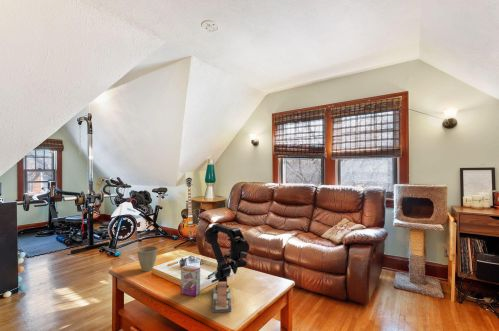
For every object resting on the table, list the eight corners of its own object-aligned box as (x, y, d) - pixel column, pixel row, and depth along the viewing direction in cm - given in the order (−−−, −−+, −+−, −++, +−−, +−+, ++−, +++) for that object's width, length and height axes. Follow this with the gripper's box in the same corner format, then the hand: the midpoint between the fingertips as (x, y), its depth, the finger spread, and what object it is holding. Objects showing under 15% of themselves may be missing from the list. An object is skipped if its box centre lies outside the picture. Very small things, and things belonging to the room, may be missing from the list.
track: (214, 294, 158) (214, 288, 158) (230, 293, 159) (230, 287, 159) (212, 312, 139) (212, 305, 139) (231, 311, 139) (231, 304, 140)
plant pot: (137, 275, 187) (137, 253, 187) (136, 267, 201) (137, 247, 201) (158, 271, 193) (158, 250, 194) (157, 264, 207) (157, 245, 207)
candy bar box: (180, 294, 159) (180, 267, 159) (185, 290, 163) (185, 264, 164) (196, 297, 155) (196, 269, 155) (200, 293, 160) (200, 266, 160)
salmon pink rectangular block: (215, 302, 145) (215, 281, 145) (228, 302, 146) (228, 280, 146) (215, 309, 138) (215, 286, 138) (228, 308, 139) (228, 286, 139)
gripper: (254, 250, 158) (254, 275, 157) (237, 243, 173) (237, 266, 173) (238, 253, 151) (238, 280, 151) (223, 245, 166) (223, 270, 166)
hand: (234, 273), depth 160 cm, fingers closed
